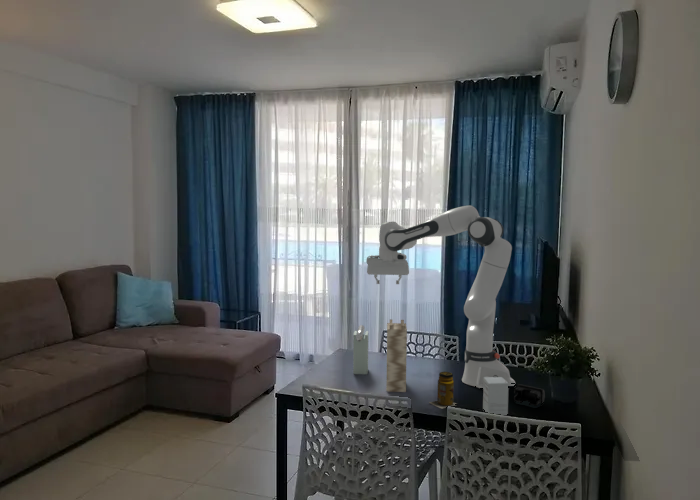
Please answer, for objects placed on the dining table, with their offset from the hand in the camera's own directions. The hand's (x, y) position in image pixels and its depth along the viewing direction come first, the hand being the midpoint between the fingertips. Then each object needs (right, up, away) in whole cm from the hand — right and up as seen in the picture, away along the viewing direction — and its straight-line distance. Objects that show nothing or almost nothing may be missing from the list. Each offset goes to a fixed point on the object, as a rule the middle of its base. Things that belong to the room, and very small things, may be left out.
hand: (387, 284), depth 253 cm
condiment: (+18, -43, -50) cm, 69 cm away
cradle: (-13, -40, -10) cm, 43 cm away
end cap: (+51, -44, -50) cm, 84 cm away
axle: (-13, -23, -11) cm, 29 cm away
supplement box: (+35, -44, -60) cm, 82 cm away
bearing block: (+1, -41, -31) cm, 52 cm away
